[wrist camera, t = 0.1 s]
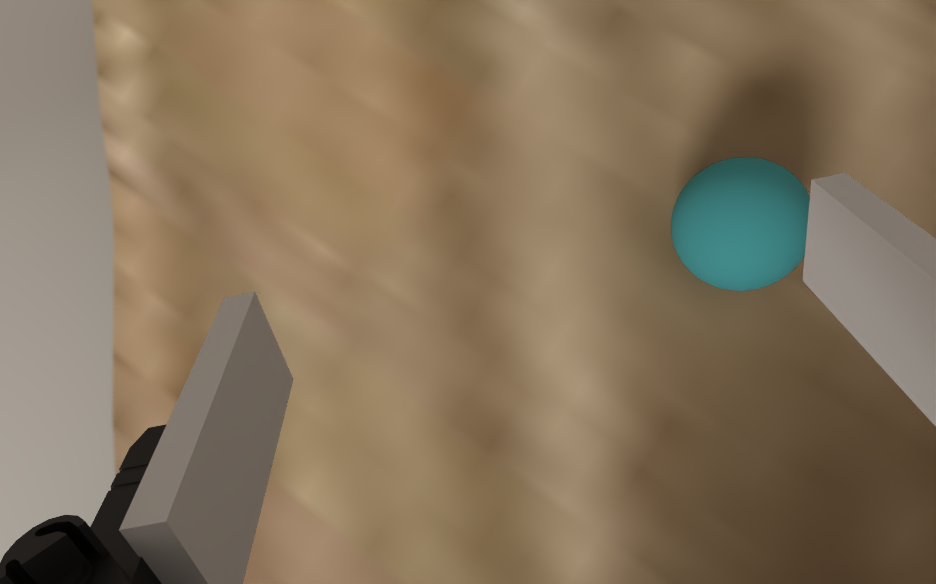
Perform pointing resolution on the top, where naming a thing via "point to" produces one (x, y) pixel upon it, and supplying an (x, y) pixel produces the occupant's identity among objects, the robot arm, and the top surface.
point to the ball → (741, 223)
